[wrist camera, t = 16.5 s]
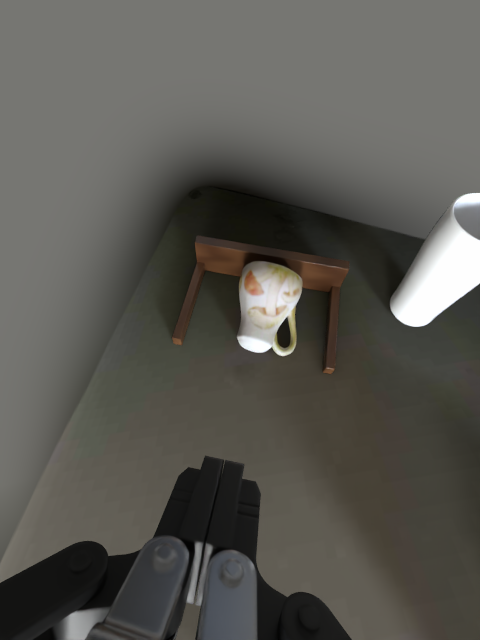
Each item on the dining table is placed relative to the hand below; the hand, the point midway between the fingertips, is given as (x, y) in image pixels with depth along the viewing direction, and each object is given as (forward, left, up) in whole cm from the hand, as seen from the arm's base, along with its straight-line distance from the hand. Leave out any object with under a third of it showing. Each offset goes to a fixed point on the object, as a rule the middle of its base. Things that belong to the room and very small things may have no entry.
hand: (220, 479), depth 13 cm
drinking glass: (+18, +25, -22) cm, 37 cm away
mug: (+1, +19, -22) cm, 29 cm away
